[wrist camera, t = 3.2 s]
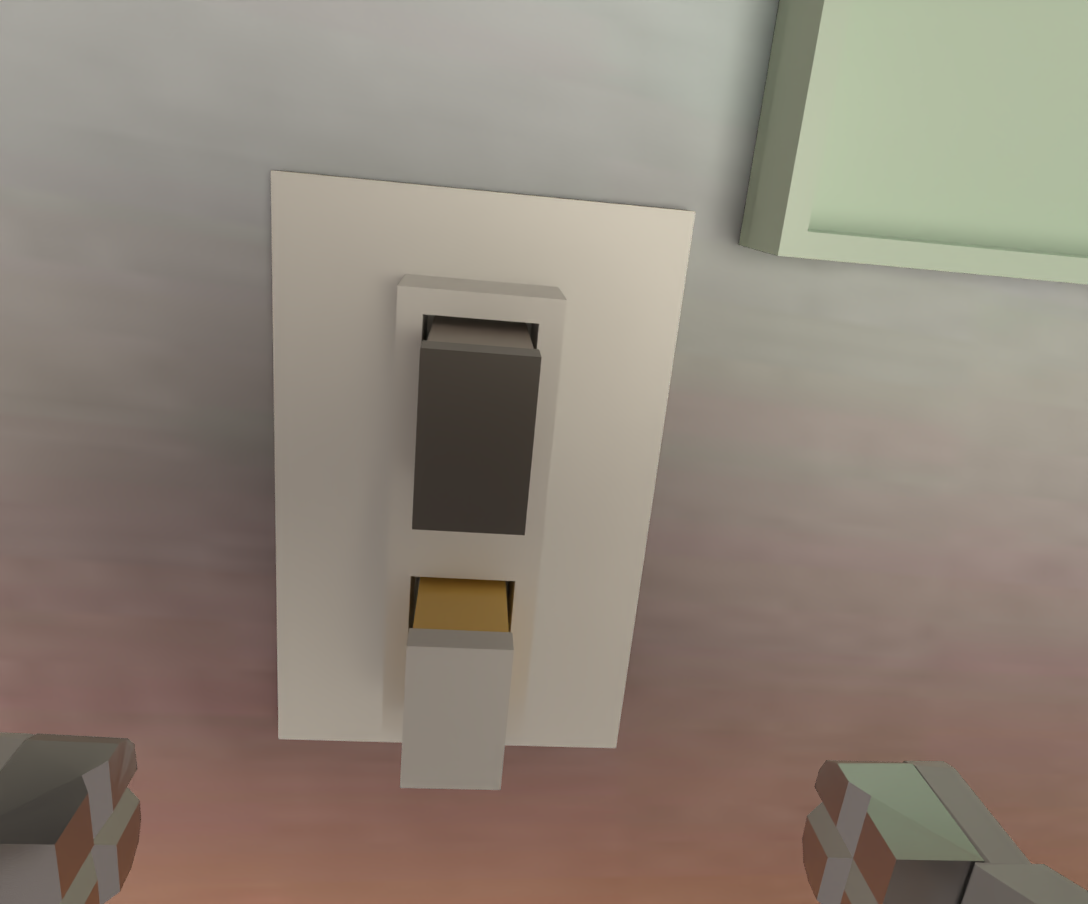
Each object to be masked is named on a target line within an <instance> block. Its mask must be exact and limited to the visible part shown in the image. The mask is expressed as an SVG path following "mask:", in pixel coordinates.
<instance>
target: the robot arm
mask: <svg viewBox="0 0 1088 904" xmlns="http://www.w3.org/2000/svg"><path fill="white" fill-rule="evenodd" d="M136 770H137V761H136V752H135V744H134V743H133V742H131V741H130V740H129V739H128V738H111V737H92V736H73V735H55V734H36V735H33V734H23V733H2V732H0V904H104V903H105V902H106V901H108V900H109V899H111V898H112V897H113V896H115V895H116V894H117V893H119V892H120V891H121V888H122V886H123V884H124V882H125V880H126V878H127V876H128V874H129V872H130V870H131V867H132V863H133V860H134V856H135V852H136V849H137V845H138V842H139V834H140V823H141V811H140V800H139V799H138V798H137V797H136V796H135V795H134V794H133V793H132V792H131V791H130V790H129V789H128V787H127V786H128V784H129V782H130V781H131V779H132V777H133V775H134V774H135V772H136ZM815 789H816V791H817V792H818V794H819V796H820V798H821V800H822V803H821V804H820V805H818V806H817V807H816V808H815V809H814V810H813V811H812V812H811V813H810V814H809V815H808V816H807V818H806V823H805V828H804V833H803V837H802V843H803V862H804V866H805V870H806V874H807V878H808V881H809V884H810V886H811V888H812V890H813V893H814V895H815V897H816V899H817V900H818V901H819V902H820V903H821V904H1088V891H1087V890H1085V889H1083V888H1082V887H1080V886H1078V885H1077V884H1075V883H1074V882H1072V881H1070V880H1069V879H1067V878H1065V877H1064V876H1062V875H1061V874H1059V873H1057V872H1056V871H1054V870H1052V869H1051V868H1049V867H1048V866H1046V865H1044V864H1031V863H1030V862H1029V860H1028V859H1027V858H1026V857H1025V855H1024V854H1023V853H1022V852H1021V850H1020V849H1019V848H1018V847H1017V845H1016V844H1015V843H1014V842H1013V840H1012V839H1011V838H1010V837H1009V835H1008V834H1007V833H1006V832H1005V830H1004V829H1003V828H1002V827H1001V825H1000V824H999V823H998V822H997V820H996V819H995V818H994V817H993V816H992V814H991V813H990V812H989V811H988V809H987V808H986V807H985V806H984V804H983V803H982V802H981V801H980V799H979V798H978V797H977V796H976V794H975V793H974V792H973V791H972V789H971V788H970V787H969V786H968V784H967V783H966V782H965V781H964V779H963V778H962V777H961V776H960V774H959V773H958V772H957V771H956V769H955V768H953V767H952V766H950V765H949V764H947V763H945V762H943V761H904V762H877V761H836V760H826V761H825V762H824V764H823V765H822V767H821V768H820V769H819V772H818V776H817V779H816V783H815Z"/></svg>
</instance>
